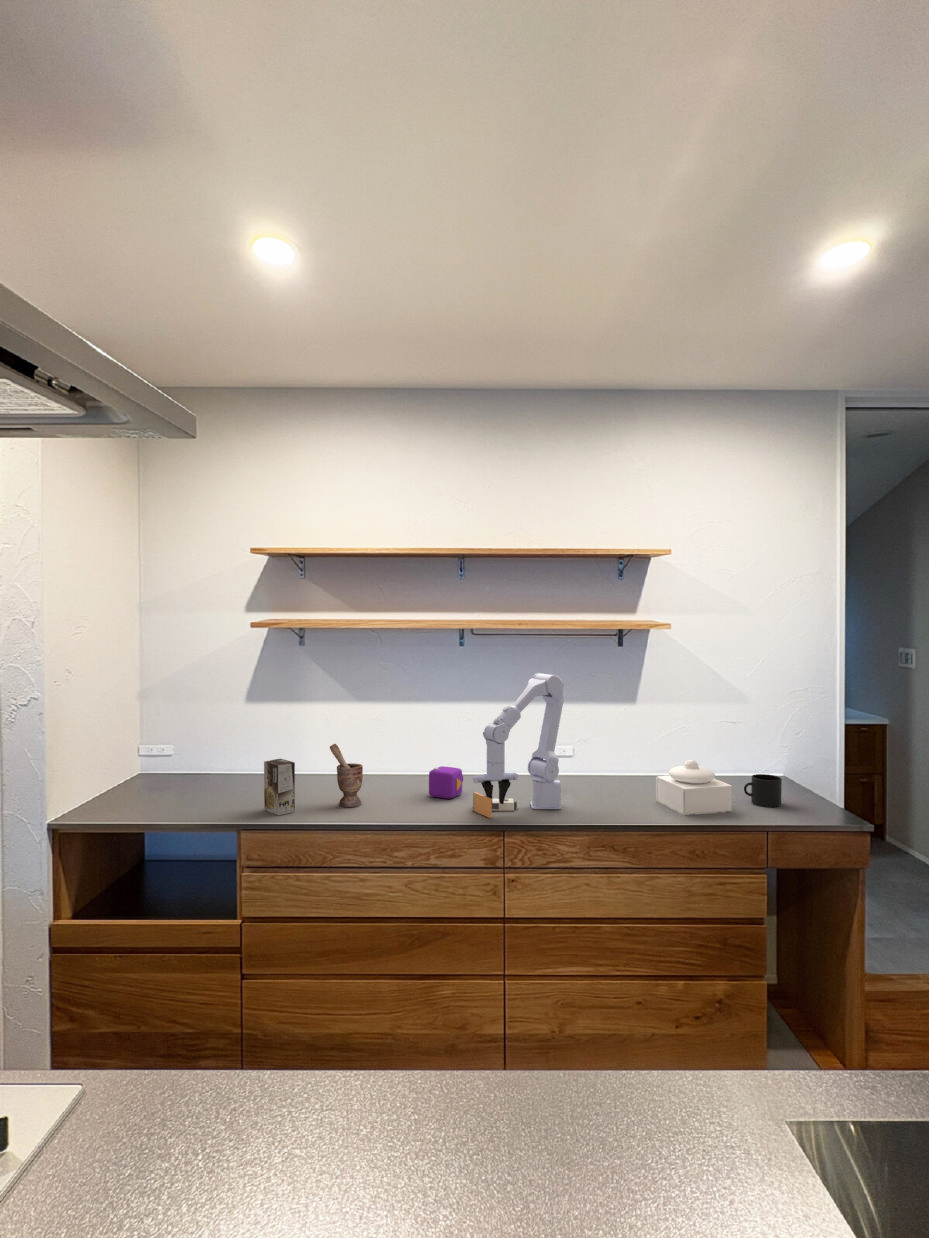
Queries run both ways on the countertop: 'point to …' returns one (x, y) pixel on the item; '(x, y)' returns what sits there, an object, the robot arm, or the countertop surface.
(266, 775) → the coffee box
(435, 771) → the toy camera
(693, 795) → the butter dish
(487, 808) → the side door
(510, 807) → the cream tapered panel
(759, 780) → the mug
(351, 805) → the mortar and pestle
